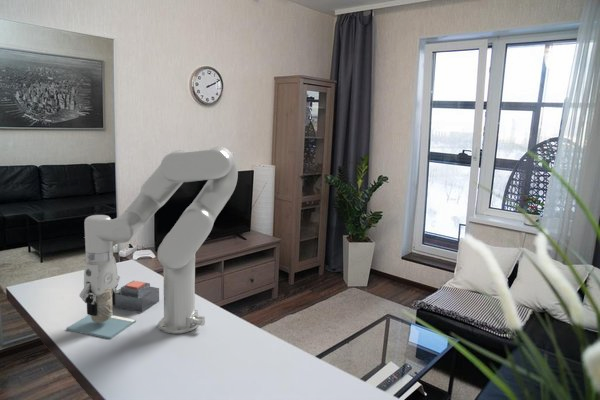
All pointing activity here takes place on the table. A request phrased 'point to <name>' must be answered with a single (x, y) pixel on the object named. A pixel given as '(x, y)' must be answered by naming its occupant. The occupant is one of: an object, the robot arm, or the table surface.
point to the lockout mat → (102, 326)
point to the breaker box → (136, 298)
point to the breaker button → (135, 285)
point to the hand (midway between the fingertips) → (101, 309)
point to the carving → (103, 306)
